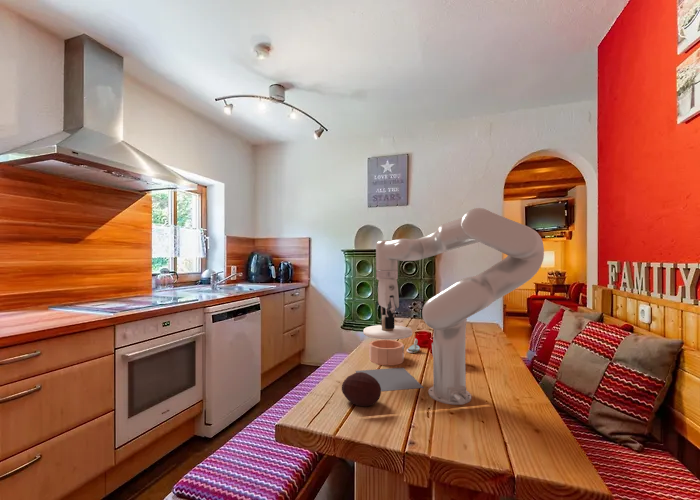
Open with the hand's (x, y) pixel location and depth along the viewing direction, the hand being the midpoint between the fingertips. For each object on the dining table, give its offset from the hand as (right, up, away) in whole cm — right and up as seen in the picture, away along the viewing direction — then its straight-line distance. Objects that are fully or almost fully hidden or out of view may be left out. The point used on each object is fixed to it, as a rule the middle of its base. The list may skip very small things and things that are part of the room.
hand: (387, 326), depth 109 cm
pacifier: (+16, -20, +34) cm, 42 cm away
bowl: (+2, -19, +20) cm, 28 cm away
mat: (0, -19, 0) cm, 19 cm away
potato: (-10, -18, -19) cm, 28 cm away
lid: (0, -2, 0) cm, 2 cm away
